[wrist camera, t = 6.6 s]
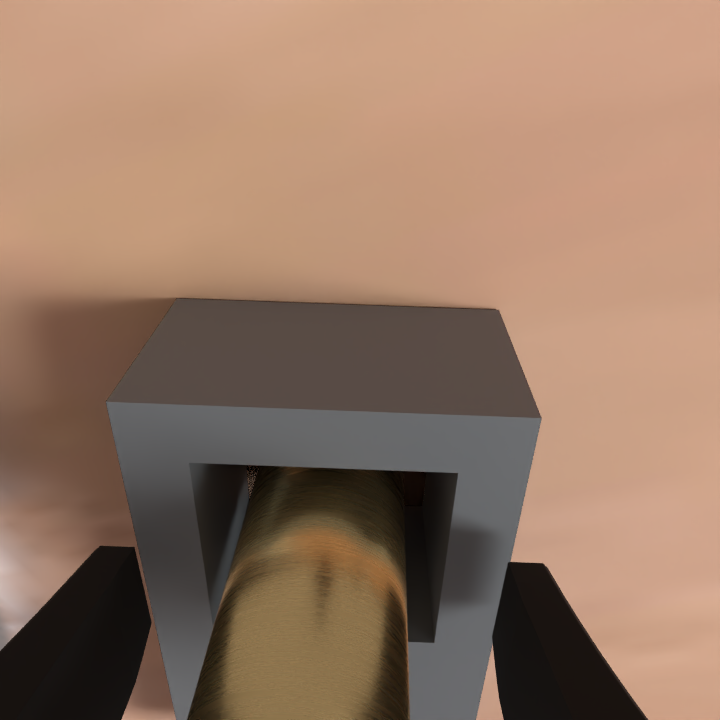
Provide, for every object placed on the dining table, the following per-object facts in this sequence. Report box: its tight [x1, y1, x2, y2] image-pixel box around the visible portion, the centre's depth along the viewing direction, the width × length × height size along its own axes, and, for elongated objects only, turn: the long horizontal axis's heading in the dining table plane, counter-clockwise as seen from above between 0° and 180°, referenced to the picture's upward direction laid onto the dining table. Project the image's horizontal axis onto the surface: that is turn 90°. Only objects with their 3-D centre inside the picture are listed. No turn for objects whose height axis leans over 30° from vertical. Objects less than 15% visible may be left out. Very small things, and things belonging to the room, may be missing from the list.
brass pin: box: [187, 465, 410, 720], centre depth 12 cm, size 3×3×8 cm
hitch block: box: [106, 298, 541, 720], centre depth 16 cm, size 16×7×4 cm, turn 178°
